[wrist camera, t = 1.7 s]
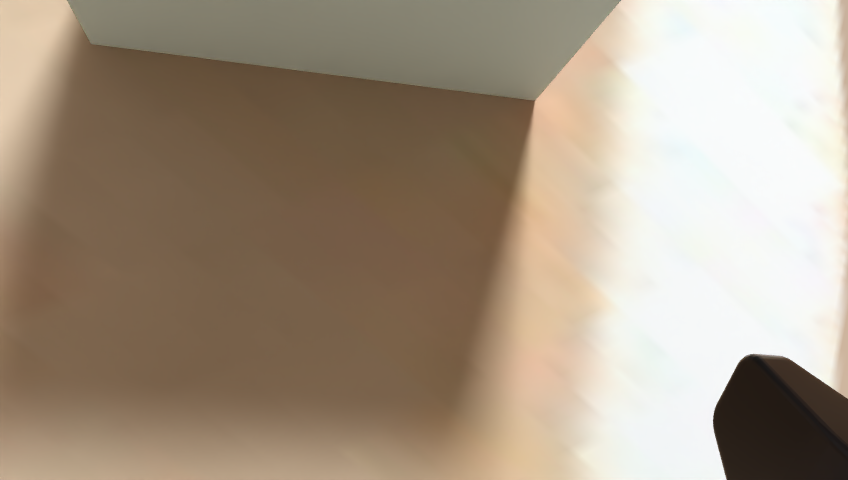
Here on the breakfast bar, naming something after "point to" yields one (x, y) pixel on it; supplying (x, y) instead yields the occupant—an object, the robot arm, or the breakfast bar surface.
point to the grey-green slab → (364, 37)
